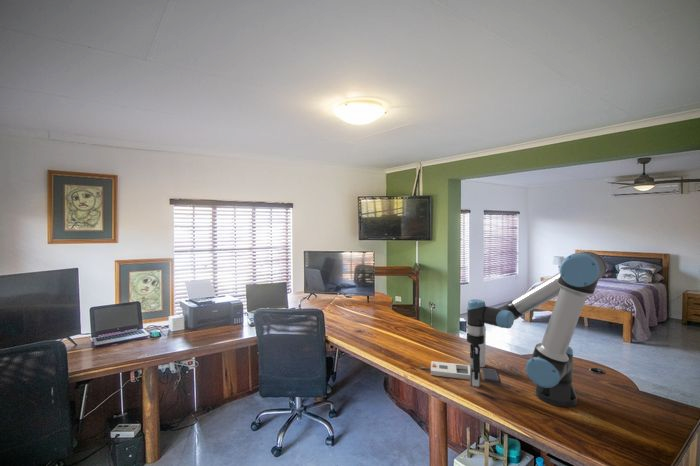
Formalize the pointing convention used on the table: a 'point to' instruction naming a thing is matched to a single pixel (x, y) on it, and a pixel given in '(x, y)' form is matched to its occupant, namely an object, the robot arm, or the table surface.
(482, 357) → the water bottle
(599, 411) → the table surface
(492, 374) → the phone
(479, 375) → the charger
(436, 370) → the power strip
